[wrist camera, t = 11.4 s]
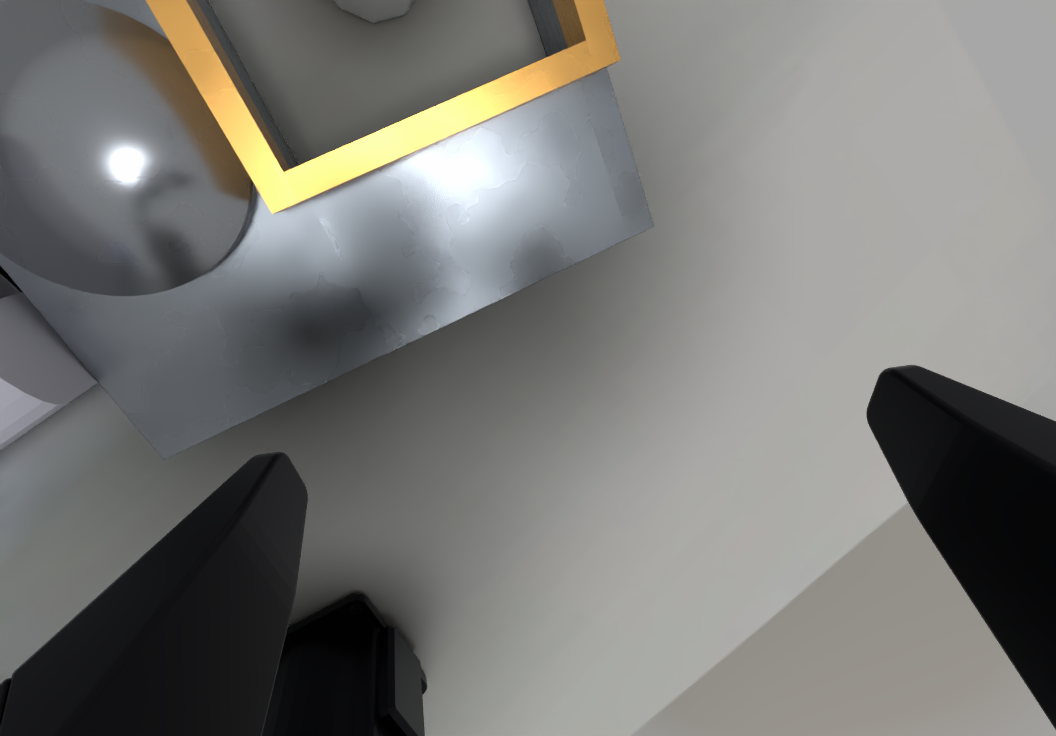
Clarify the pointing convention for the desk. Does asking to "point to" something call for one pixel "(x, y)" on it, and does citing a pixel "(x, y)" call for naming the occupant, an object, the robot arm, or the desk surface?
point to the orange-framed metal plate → (280, 206)
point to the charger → (33, 367)
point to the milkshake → (375, 8)
